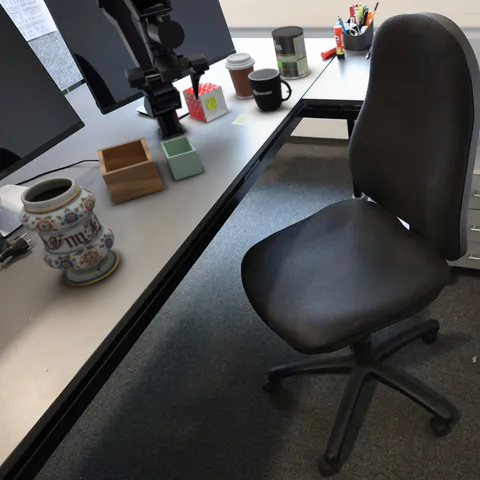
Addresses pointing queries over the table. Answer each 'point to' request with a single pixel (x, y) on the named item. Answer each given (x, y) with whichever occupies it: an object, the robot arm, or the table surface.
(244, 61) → the coffee cup
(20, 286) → the table surface
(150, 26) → the robot arm
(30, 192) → the apothecary jar
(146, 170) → the crate
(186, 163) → the bin
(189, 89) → the red and white cube
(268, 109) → the mug
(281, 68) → the coffee can
